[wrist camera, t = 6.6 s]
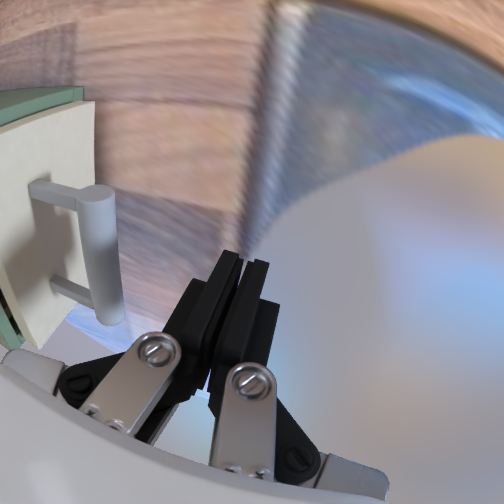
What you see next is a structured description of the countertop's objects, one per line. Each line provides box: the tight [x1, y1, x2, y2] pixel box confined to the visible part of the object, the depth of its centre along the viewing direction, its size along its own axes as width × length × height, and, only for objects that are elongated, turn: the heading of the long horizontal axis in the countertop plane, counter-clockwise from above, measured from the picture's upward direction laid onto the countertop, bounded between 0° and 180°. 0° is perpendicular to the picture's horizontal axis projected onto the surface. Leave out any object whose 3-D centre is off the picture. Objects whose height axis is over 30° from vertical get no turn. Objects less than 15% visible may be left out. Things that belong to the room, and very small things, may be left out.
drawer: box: [0, 101, 125, 349], centre depth 12 cm, size 17×10×7 cm, turn 78°
